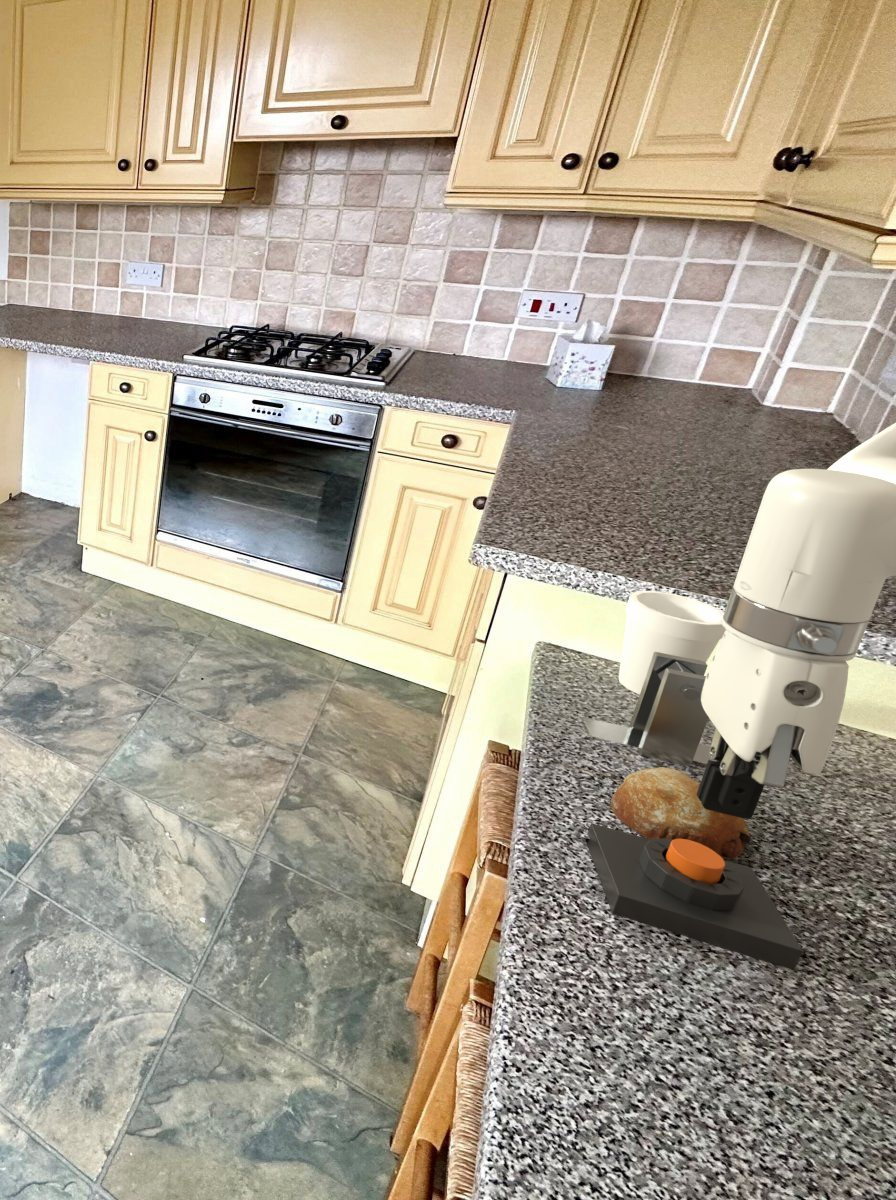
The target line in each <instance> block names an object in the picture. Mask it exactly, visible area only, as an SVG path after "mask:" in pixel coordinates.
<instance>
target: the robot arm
mask: <svg viewBox="0 0 896 1200" xmlns="http://www.w3.org/2000/svg"><path fill="white" fill-rule="evenodd" d="M737 571H738V572H737V574H736V577H735V580H734V583H733V585H732V589H731V592H730V594H729V598H728V601H727V603H726V606H725V609H724V611H723V612H724V615H723V618H722V621H721V624H722V626H723V627H724V628H725V629H726V630H725V632H724V635H723V637H722V638H721V639H720V640H719V642H718V644H717V648H716V650H715V653H714V655H713V657H712V660H711V662H710V665H709V666H708V667H709V668H708V671H707V673H706V675H705V676H706V679H705V682H704V686H703V690H702V695H701V703H702V706H703V709H704V711H705V712H706V714H707V715H708V717H709V718H708V719H709V720H710V721H711V723H712V725H713V726H714V727H715V728H714V731H713V736H712V738H711V744H710V751H709V755H710V758H711V759H713V760H717V761H711V760H708V763H707V764H706V765H705V769H704V771H703V774H702V778H701V780H700V782H699V783H700V786H699V788H698V791H697V797H698V798H699V800H700V801H701V803H702V805H703V807H704V808H705V809H707V810H711V811H715V812H719V813H723V814H728V815H732V816H736V817H740V818H744V819H745V820H749V819H752V818H753V816H754V813H755V811H756V808H757V806H758V803H759V800H760V798H761V796H762V792H763V790H764V787H765V786H767V787H772V788H776V789H783V788H784V786H785V783H786V779H787V774H788V769H789V764H790V761H791V760H792V761H793V763H795V764H796V766H797V767H798V768H799V769H800V770H801V771H802V773H804V774H806V775H808V776H812V777H816V776H818V775H820V774H821V773H822V771H823V769H824V767H825V765H826V762H827V759H828V756H829V753H830V751H831V747H832V745H833V742H834V738H835V736H836V732H837V728H838V725H839V722H840V718H841V714H842V711H843V706H844V701H845V698H846V693H847V692H846V691H847V685H848V679H849V667H850V665H849V664H848V661H851V660H854V658H855V657H856V655H857V652H858V649H859V647H860V644H861V642H862V640H863V637H864V634H865V632H866V630H867V628H868V624H869V622H870V619H871V616H872V613H873V611H874V608H875V607H876V604H877V602H878V599H879V596H880V594H881V592H882V589H883V586H884V584H885V581H886V579H888V578H891V577H896V422H894V423H893V424H891V425H889V426H888V427H886V428H885V429H883V430H881V431H880V432H878V433H877V434H875V435H874V436H872V437H870V438H869V439H867V440H865V441H864V442H862V443H860V444H859V445H857V446H856V447H854V448H853V449H851V450H850V451H848V452H847V453H845V454H844V455H843V456H841V457H840V458H839V459H838V460H836V461H835V462H834V463H833V464H831V465H830V466H829V467H828V468H826V469H825V468H796V469H795V468H794V469H788V470H784V471H782V472H779V473H778V474H776V475H774V477H772V478H771V480H770V481H769V482H768V484H767V486H766V488H765V491H764V492H763V496H762V499H761V502H760V504H759V508H758V511H757V514H756V517H755V520H754V524H753V525H752V529H751V532H750V534H749V538H748V540H747V543H746V546H745V549H744V552H743V556H742V558H741V561H740V565H739V568H738V570H737ZM790 757H791V758H790Z"/></svg>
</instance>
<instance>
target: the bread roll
mask: <svg viewBox="0 0 896 1200" xmlns="http://www.w3.org/2000/svg"><path fill="white" fill-rule="evenodd" d="M700 783H701V782H698V781H696V780H695V779H694V778H692V777H690V776H689V775H687V774H686V773H685V772H684V771H681V770H678V769H676V768H671V767H663V766H662V767H660V766H659V767H651V768H644V769H643V768H642V769H639V770H637V771H635V772H632V773H628V774H627V775H626V777H625V778H624V779H623V782H622V784H620V785H619V786H618V788H617V789H616V790H615V792H614V794H613V796H612V797H611V799H610V800H611V801H610V808H611V810H612V812H613V814H614V816H615V817H616V818H618V820H619V821H620V822H622V823H623V824H624V825H625V826H627V827H628V828H630V830H633V831H634V832H636V833H637V834H639V835H641V836H642V837H643V838H646V839H665V838H668V839H672V840H674V839H687V840H691V841H694V842H697V843H700V844H702V845H704V846H706V847H708V848H710V849H711V850H713V851H714V852H716V853H717V854H718V855H719V856H721V858H722V859H723V860H735V859H737V858H738V857H739V856H740V855H741V854H742V853H743V852H744V850H745V847H746V846H747V845H748V844H749V843H750V842H751V841H752V837H751V836H750V832H749V828H748V826H747V822H746V819H744V818H740V817H736V816H732V815H728V814H723V813H719V812H715V811H711V810H707V809H705V808H704V807H703V805H702V803H701V801H700V800H699V798H698V797H697V791H698V788H699V786H700Z"/></svg>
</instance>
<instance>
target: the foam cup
mask: <svg viewBox="0 0 896 1200" xmlns="http://www.w3.org/2000/svg"><path fill="white" fill-rule="evenodd" d="M724 612H725V611H722V610H721V609H718V608H717V607H716V606H713V605H711V604H708V603H705V602H703V601H701V600H698V599H695V598H691V597H688V596H684V595H680V594H676V593H670V592H663V591H658V590H637V591H634V592H632V593H629V597H628V600H627V603H626V607H625V614H626V616H625V617H626V618H625V625H624V633H623V640H622V648H621V655H620V663H619V671H618V681H619V684H620V685H622V686H623V687H624V688H625V689H627V690H629V691H631V692H633V693H635V694H637V695H640V692H641V690H642V687H643V684H644V681H645V678H646V675H647V672H648V669H649V666H650V663H651V660H652V657H653V654H654V652H659V653H664V654H669V655H674V656H679V657H685V658H690V659H695V660H700V661H705V663H706V664H707V662H708V660H709V658H710V656H711V655H712V654H713V652H714V650H715V648H716V647H717V646H718V644H719V643H720V641H721V639H722V637H723V635H724V632H725V630H726V629H725V628H724V627H723V626H722V624H721V621H722V618H723V615H724Z"/></svg>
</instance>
